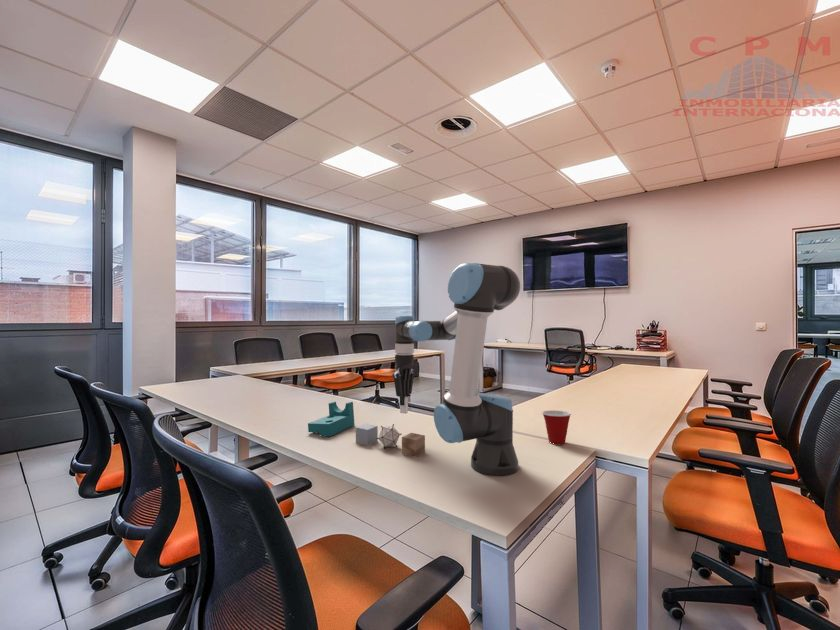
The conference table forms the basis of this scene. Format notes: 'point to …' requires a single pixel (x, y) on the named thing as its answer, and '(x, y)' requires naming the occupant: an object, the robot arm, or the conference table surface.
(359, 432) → the slate-grey block
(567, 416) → the plastic cup
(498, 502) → the conference table surface
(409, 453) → the walnut block
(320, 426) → the teal l-shaped bracket
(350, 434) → the conference table surface
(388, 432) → the grey spiky polyhedron
